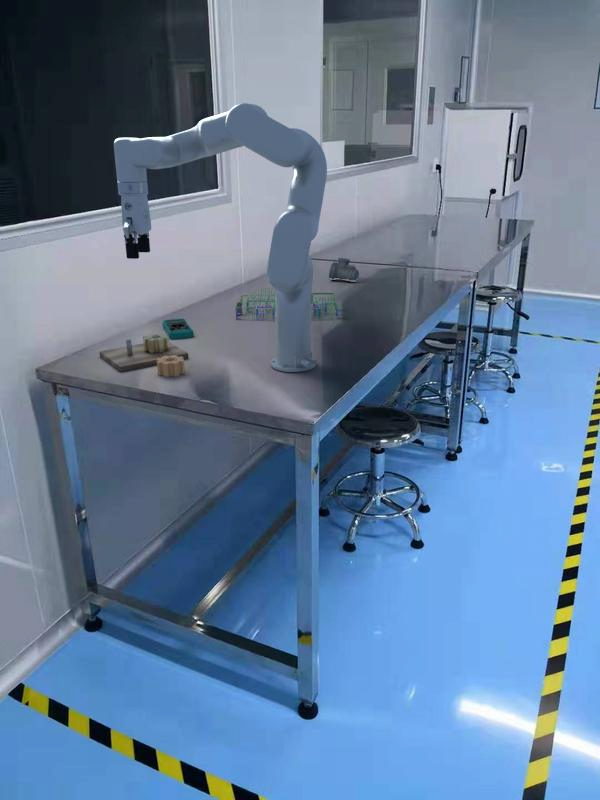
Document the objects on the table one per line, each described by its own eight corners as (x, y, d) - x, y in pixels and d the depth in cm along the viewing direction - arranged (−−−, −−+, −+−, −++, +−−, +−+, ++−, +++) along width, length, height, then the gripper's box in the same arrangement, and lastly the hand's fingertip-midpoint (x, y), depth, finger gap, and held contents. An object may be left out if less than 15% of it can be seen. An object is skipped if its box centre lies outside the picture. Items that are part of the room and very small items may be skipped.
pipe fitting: (326, 281, 277) (330, 257, 274) (333, 279, 284) (337, 255, 281) (352, 287, 273) (356, 262, 269) (358, 284, 280) (362, 261, 276)
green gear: (173, 349, 184) (172, 337, 183) (149, 354, 181) (148, 342, 179) (163, 343, 190) (162, 331, 188) (139, 347, 186) (138, 335, 185)
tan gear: (189, 373, 171) (188, 360, 170) (164, 378, 168) (163, 365, 166) (177, 366, 177) (176, 353, 175) (153, 371, 173) (152, 358, 172)
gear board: (188, 358, 183) (187, 337, 181) (120, 372, 172) (118, 350, 170) (164, 344, 195) (163, 325, 193) (100, 356, 184) (97, 336, 182)
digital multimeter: (170, 341, 200) (169, 331, 198) (162, 328, 213) (161, 319, 212) (194, 339, 202) (193, 329, 201) (185, 326, 215) (184, 317, 214)
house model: (235, 321, 221) (235, 307, 219) (240, 300, 248) (240, 288, 246) (338, 320, 221) (338, 307, 220) (331, 300, 249) (332, 288, 247)
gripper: (136, 191, 160) (142, 261, 166) (156, 186, 176) (161, 250, 182) (106, 191, 160) (114, 260, 167) (129, 186, 176) (135, 249, 183)
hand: (138, 255), depth 174 cm, fingers open, 9 cm apart
